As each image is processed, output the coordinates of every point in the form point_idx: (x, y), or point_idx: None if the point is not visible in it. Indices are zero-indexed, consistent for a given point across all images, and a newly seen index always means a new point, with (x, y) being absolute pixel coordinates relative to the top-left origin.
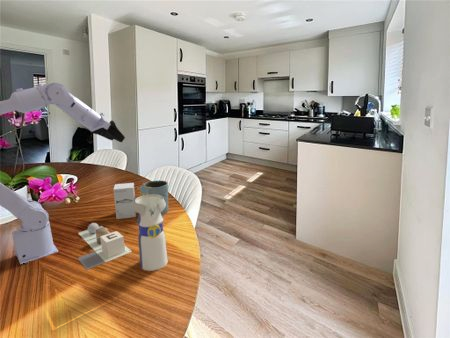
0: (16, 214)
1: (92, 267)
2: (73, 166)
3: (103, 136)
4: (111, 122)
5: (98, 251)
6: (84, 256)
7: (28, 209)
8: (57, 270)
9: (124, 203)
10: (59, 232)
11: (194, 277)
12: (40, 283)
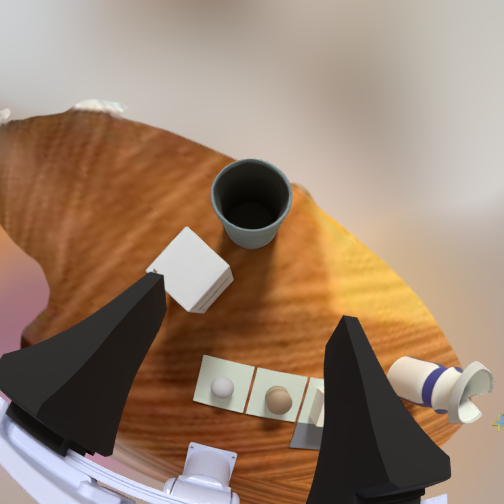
0: None
1: None
2: None
3: (135, 374)
4: (427, 485)
5: (303, 419)
6: (296, 439)
7: None
8: (290, 471)
9: (215, 294)
10: (154, 410)
11: (455, 357)
12: (300, 490)
